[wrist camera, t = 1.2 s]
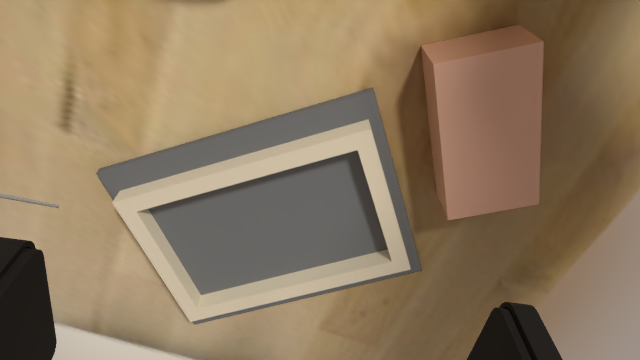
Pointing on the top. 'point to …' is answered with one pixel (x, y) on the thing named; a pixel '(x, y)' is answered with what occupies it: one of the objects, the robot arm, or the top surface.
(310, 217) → the pocket mat
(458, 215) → the salmon pink brick
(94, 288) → the top surface
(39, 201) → the sign
